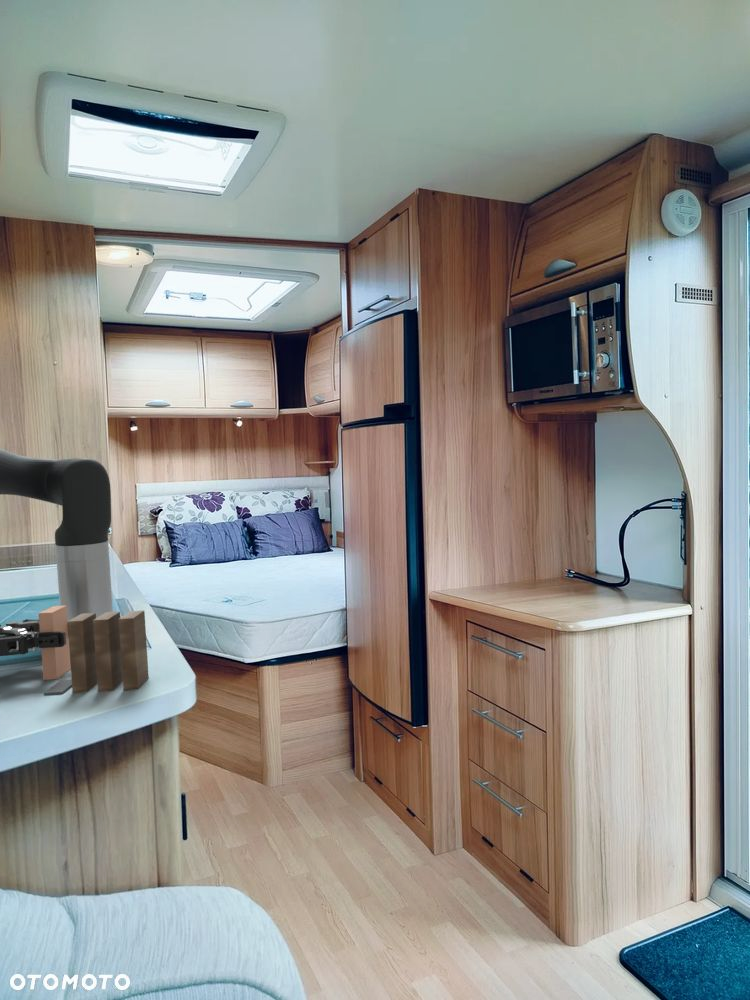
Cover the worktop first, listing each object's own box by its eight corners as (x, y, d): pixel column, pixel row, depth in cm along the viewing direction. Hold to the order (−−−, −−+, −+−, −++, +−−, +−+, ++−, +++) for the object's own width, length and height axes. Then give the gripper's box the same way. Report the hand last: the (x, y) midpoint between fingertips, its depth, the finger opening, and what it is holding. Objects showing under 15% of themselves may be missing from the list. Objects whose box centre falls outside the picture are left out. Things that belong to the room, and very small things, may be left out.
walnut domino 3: (123, 690, 95) (118, 618, 94) (134, 678, 100) (130, 611, 99) (138, 689, 95) (133, 618, 94) (148, 678, 100) (144, 610, 99)
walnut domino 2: (98, 691, 95) (93, 620, 94) (110, 680, 100) (106, 612, 99) (112, 690, 95) (107, 619, 94) (124, 679, 100) (120, 611, 99)
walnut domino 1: (72, 692, 95) (67, 621, 94) (86, 681, 100) (81, 613, 99) (87, 692, 95) (82, 620, 94) (100, 680, 100) (95, 612, 99)
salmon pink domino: (43, 679, 101) (38, 613, 101) (57, 669, 106) (53, 606, 106) (57, 679, 101) (52, 612, 101) (70, 669, 106) (66, 605, 106)
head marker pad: (43, 694, 94) (43, 692, 94) (60, 682, 100) (60, 679, 100) (62, 693, 94) (62, 691, 94) (78, 681, 100) (78, 679, 100)
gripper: (-73, 627, 96) (50, 620, 96) (-18, 605, 110) (89, 600, 111) (-69, 679, 96) (54, 672, 97) (-15, 651, 110) (92, 646, 111)
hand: (72, 634), depth 104 cm, fingers closed on salmon pink domino, 5 cm apart
